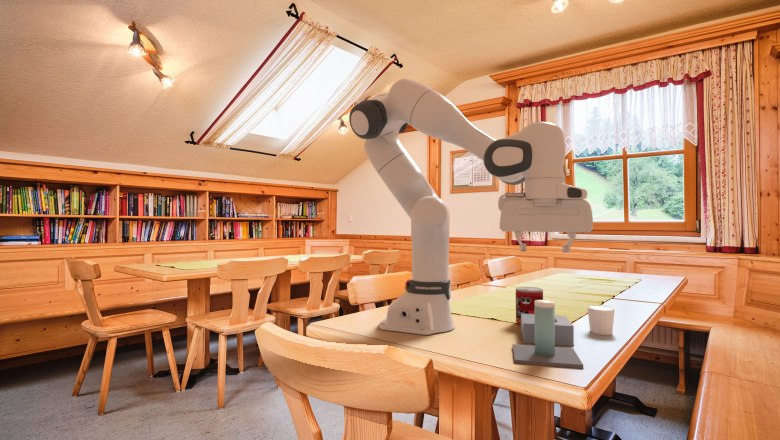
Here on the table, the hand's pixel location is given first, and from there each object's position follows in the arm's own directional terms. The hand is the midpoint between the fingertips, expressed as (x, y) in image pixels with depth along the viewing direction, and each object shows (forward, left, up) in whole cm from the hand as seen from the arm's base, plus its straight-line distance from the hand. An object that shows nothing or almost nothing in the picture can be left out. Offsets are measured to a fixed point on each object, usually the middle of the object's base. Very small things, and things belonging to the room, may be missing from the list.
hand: (544, 251), depth 95 cm
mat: (0, 0, -24) cm, 24 cm away
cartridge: (0, 0, -24) cm, 24 cm away
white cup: (+18, +27, -25) cm, 41 cm away
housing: (+2, +17, -24) cm, 30 cm away
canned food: (-1, +32, -25) cm, 40 cm away
